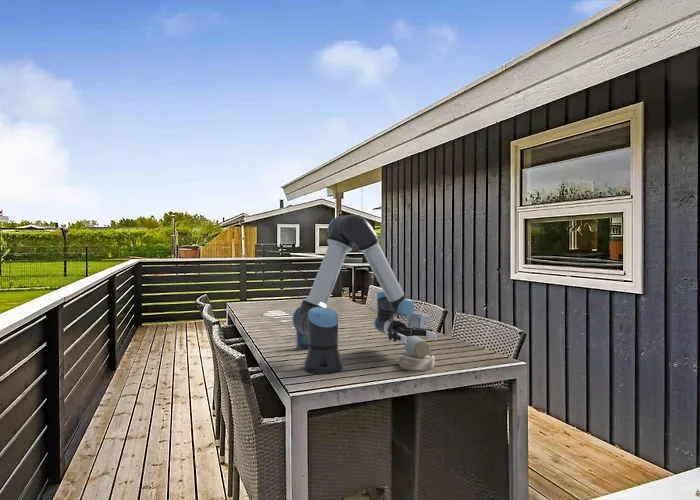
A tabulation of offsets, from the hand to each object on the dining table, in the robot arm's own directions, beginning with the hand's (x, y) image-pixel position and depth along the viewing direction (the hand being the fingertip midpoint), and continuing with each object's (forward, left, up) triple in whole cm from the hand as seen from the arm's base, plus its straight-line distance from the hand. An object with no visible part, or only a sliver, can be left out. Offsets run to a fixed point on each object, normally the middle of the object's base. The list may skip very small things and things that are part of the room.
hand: (420, 338), depth 186 cm
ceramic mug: (+3, +2, -8) cm, 9 cm away
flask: (-9, +58, -12) cm, 60 cm away
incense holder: (+58, +41, -12) cm, 72 cm away
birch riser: (+1, +3, -12) cm, 12 cm away
